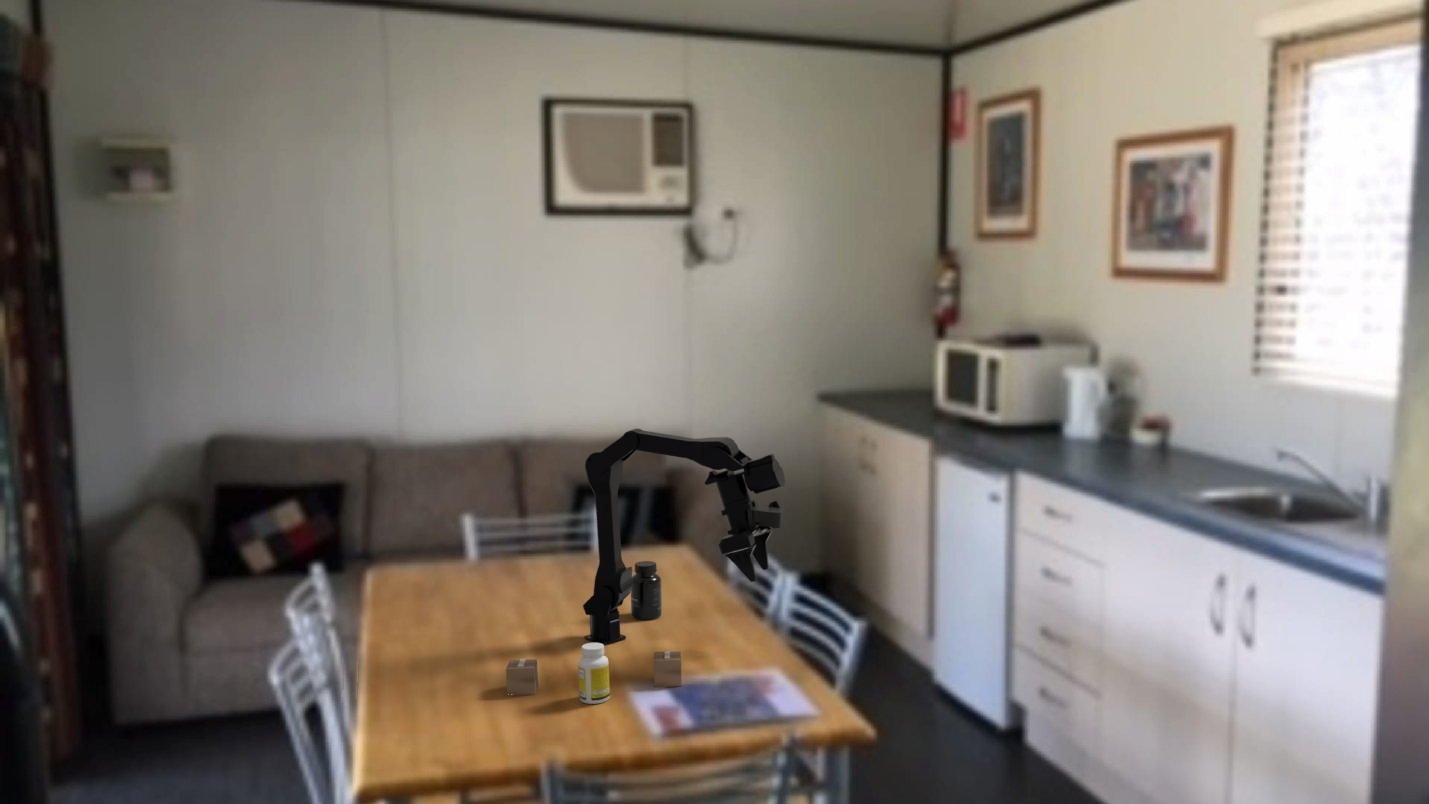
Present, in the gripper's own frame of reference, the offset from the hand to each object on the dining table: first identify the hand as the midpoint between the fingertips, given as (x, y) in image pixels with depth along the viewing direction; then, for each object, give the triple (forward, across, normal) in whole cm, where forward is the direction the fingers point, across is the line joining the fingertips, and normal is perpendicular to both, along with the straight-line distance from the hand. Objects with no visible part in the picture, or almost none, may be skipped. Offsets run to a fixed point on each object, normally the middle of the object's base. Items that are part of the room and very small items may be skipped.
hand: (759, 575), depth 227 cm
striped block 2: (+11, -21, +16) cm, 29 cm away
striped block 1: (+4, -31, +40) cm, 51 cm away
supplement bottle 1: (+9, -32, +26) cm, 42 cm away
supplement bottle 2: (+6, +17, +34) cm, 39 cm away
